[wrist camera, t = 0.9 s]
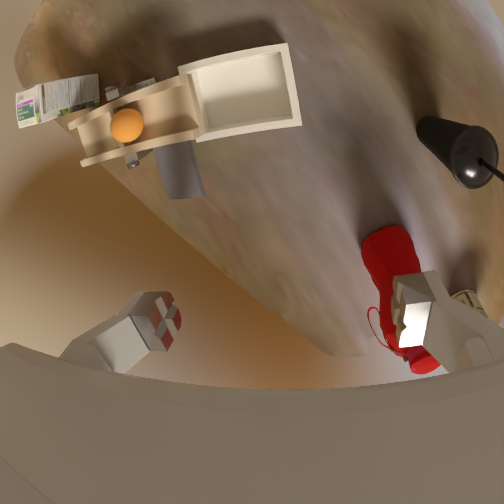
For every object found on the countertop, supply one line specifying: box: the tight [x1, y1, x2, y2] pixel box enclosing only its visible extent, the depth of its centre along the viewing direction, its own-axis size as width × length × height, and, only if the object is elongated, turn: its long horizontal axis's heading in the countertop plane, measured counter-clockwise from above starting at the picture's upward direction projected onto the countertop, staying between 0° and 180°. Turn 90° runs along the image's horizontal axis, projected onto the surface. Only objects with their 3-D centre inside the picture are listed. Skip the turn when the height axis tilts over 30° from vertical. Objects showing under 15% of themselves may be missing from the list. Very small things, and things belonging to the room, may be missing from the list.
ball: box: [110, 109, 144, 142], centre depth 28 cm, size 4×4×4 cm
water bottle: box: [361, 225, 441, 374], centre depth 38 cm, size 9×11×25 cm
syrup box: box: [16, 73, 100, 128], centre depth 31 cm, size 6×6×14 cm
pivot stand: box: [105, 77, 158, 169], centre depth 35 cm, size 12×5×10 cm, turn 11°
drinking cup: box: [417, 116, 504, 189], centre depth 26 cm, size 8×8×20 cm
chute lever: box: [68, 74, 206, 200], centre depth 34 cm, size 20×14×8 cm
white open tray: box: [178, 43, 302, 142], centre depth 34 cm, size 11×14×5 cm
